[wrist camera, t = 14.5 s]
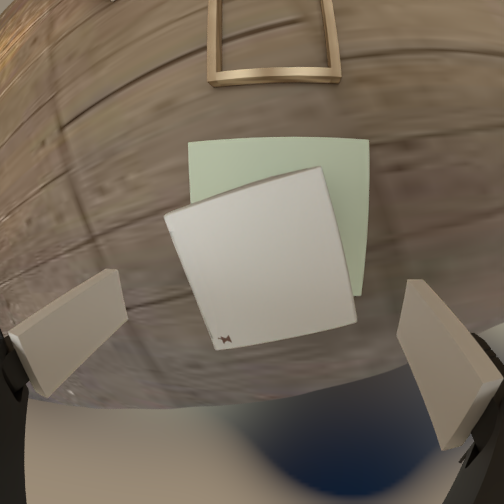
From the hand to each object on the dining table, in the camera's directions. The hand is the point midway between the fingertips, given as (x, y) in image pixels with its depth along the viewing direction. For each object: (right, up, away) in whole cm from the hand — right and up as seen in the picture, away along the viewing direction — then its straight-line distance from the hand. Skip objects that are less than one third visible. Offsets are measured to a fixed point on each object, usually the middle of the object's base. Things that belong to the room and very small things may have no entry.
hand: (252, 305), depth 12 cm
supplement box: (+3, +6, +19) cm, 21 cm away
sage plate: (+3, +6, +20) cm, 21 cm away
